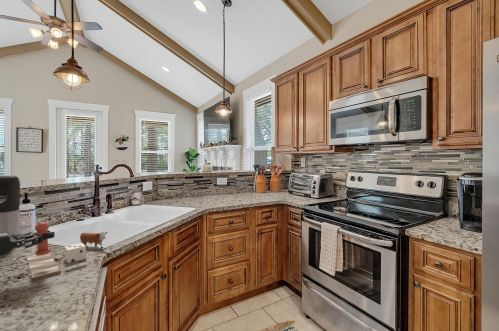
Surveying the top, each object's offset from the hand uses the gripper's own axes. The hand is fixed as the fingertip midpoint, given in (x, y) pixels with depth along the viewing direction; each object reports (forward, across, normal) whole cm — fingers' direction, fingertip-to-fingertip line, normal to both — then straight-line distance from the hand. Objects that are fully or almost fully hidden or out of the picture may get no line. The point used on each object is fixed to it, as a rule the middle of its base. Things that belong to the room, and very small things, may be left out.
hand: (51, 233), depth 95 cm
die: (+7, -2, +13) cm, 15 cm away
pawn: (-3, 0, +6) cm, 7 cm away
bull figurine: (+19, +6, +13) cm, 23 cm away
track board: (-1, +5, +13) cm, 14 cm away
